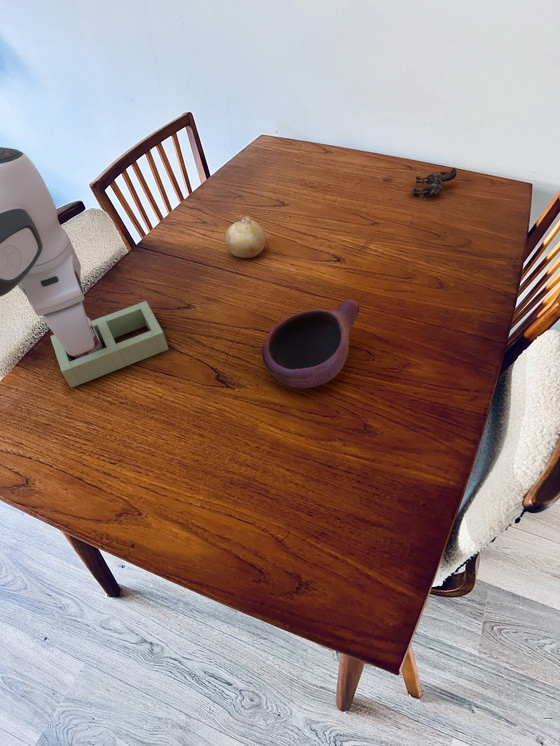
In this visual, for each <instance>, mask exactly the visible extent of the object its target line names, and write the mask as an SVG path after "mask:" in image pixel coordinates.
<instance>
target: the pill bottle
mask: <svg viewBox="0 0 560 746" xmlns="http://www.w3.org/2000/svg"><path fill="white" fill-rule="evenodd" d="M87 319H88V323H89V326H90V329H91V332H92V335H93V339H94V345H95V346H94V348H93V349H92V350H90V351H87V352H85V353H82V354H79V355H76V356H73V357H74V360H76V359H78V358H81V357H83V356H86V355H89V354H91V353H94V352H96V351H99V350H102V349H104V346H103V344H102V343H101V342H100V340H99V337H98V335H97V333H96V331H95V329H94V327H93V324H92V322H91V321H92V320H91V319H90V318H89V317H88V316H87Z"/></svg>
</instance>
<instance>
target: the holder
mask: <svg viewBox="0 0 560 746" xmlns="http://www.w3.org/2000/svg"><path fill="white" fill-rule="evenodd" d="M91 322H92V324H93V327H94V329H95V331H96V333H97V335H98V337H99V340H100V342H101V344H102V343H104V345H105V347H103V349H102V350H99V351H96V352H94V353H91V354H89V355H86V356H83V357H81V358H78V359H72V356H71V355H69V354H68V353H67V352H66V351H65V349H64V348H63V347H62V345H61V344H60V342H59V341H58V339H57V338H56V336H55V335H54V334H53V335H52V334H51V335H50V340H51V343H52V346H53V349H54V350H53V351H54V352H55V356H56V359H57V362H58V365H59V368H60V372H61V373H62V375H63V377H64V378H65V380H66V382H67V383H68V385H69V387H70V388H71V389H73V388H75V387H78V386H80V385H82V384H86V383H87V382H90V381H92V380H95V379H98V378H99V377H102V376H105V375H107V374H111V373H112V372H116V371H118V370H121V369H123V368H125V367H127V366H130V365H133V364H136V363H137V362H140V361H143V360H145V359H147V358H149V357H153V356H155V355H158V354H160V353H163V352H166V351H169V346H168V343H167V342H168V341H167V340H166V336H165V333H164V330H163V329H162V327H161V326H160V324H159V322H158V320H157V319H156V316H155V315H154V313H153V311H152V309H151V307H150V305H149V303H148V302H147V300H144V301H142V302H140V303H137V304H134V305H131V306H128V307H126V308H122V309H120V310H118V311H114V312H112V313H108V314H107V315H104V316H101V317H98V318H96V319H93V320H91ZM145 327H146V328H147V330H148V331H146V332H143V333H141V334H138V335H136V336H133V337H130V338H128V339H125V340H122V341H120V342H118V343H116V341H115V338H118V337H120V336H123V335H126V334H128V333H131V332H134V331H136V330H139V329H141V328H145Z"/></svg>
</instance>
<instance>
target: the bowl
mask: <svg viewBox="0 0 560 746" xmlns="http://www.w3.org/2000/svg"><path fill="white" fill-rule="evenodd" d="M359 313H360V304H359V303H358V301H356V300H354V299H351V298H348V299H344V300H343V301H342V302H340V304H338V305H337V306H336V307H335V308H333V309H332V310H326V309H318V308H316V309H308V310H304V311H300V312H296V313H294V314H292V315H289V316H287V317H286V318H284V319H283V320H282V321H280V322H279V323H278V324H276V325H275V326H273V328H272V329H271V330H270V331H268V334H267V336H266V338H265V340H264V343H263V344H262V347H261V356H262V362H263V364H264V366H265V368H266V370H267V371H268V372H269V374H270V375H271V376H272V377H273V378H274V379H275V380H277V381H278V382H280V383H282V384H283V385H285V386H287V387H291V388H295V389H297V388H298V389H311V388H316V387H319V386H322V385H324V384H326V383H328V382H329V381H331V380H333V379H334V378H335V377H337V375H339V374H340V372H341V370H343V368H344V366H345V364H346V361H347V358H348V356H349V349H350V332H351V330H352V328H353V325H354V324H355V322H356V320H357V318H358V315H359Z"/></svg>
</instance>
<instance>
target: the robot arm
mask: <svg viewBox="0 0 560 746" xmlns="http://www.w3.org/2000/svg"><path fill="white" fill-rule="evenodd" d="M81 269H82V266H81V262H80V259H79V257H78V255H77V253H76V251H75V248H74V246H73V244H72V242H71V239H70V236H69V234H68V233H67V231H66V230H65V229H64V228H63V227H62V224H60V222H59V217H58V211H57V207H56V204H55V202H54V199H53V197H52V195H51V193H50V191H49V189H48V187H47V185H46V183H45V180H44V178H43V177H42V175H41V173H40V171H39V170H38V168H37V167H36V165H35V164H34V162H33V161H32V160H31V158H30V157H29V156H28V155H27V154H26V153H24V152H23V151H21V150H19V149H16V148H10V147H1V146H0V297H2V296H5V295H7V294H8V293H10V292H11V291H13V290H14V289H15V288H16V287H18V288H19V290H20V291H21V292H22V293H23V294H24V296H26V297H27V300H28V303H29V304H30V306H31V308H32V310H33V311H34V314H35V315H36V316H37V317H40V316H42V317H43V319H44V321H45V323H46V324H47V326H48V327H49V329H50V331H51V332H52V333H53V335H55V336H56V338H57V339H58V341H59V342H60V344H61V345H62V347H63V348H64V349H65V351H66V352H67V353H68V354H69V355H70V356H71V357H74V356H76V355H79V354H82V353H85V352H87V351H90V350H92V349H93V348H94V346H95V345H94V339H93V335H92V332H91V329H90V326H89V323H88V319H87V317H88V315H87V314H86V310H85V307H84V303H83V301H85V295H84V290H83V285H82V282H81V271H82V270H81Z"/></svg>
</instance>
